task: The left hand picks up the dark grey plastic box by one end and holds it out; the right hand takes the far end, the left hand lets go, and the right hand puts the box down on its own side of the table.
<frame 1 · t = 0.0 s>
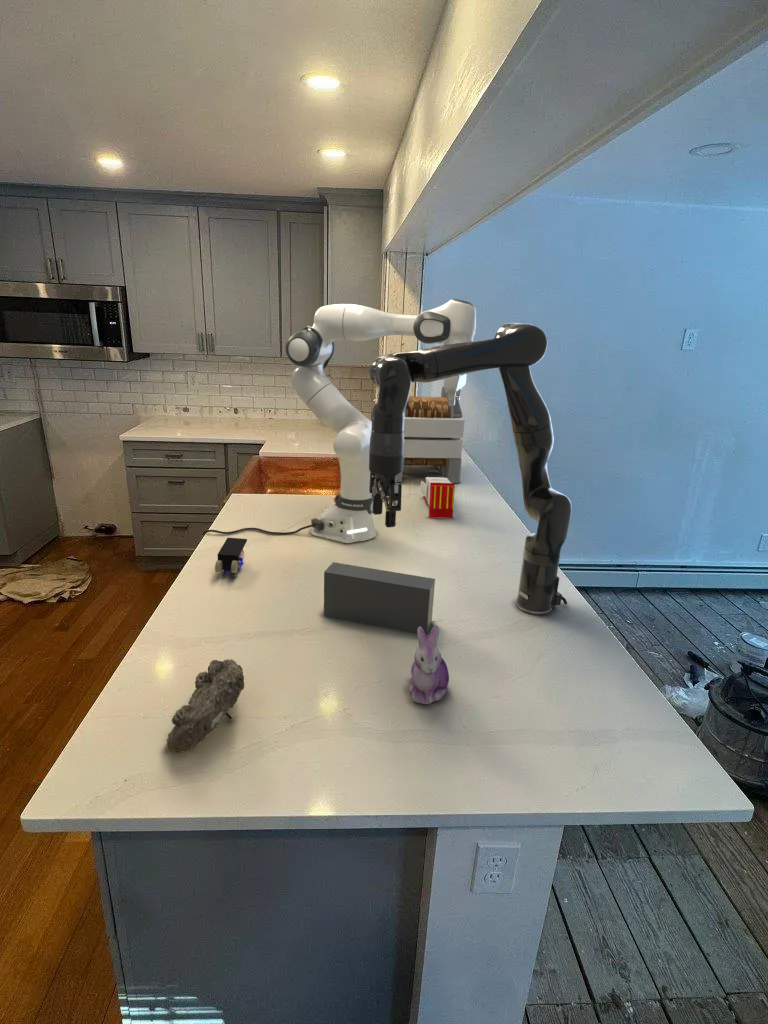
left hand: (454, 403, 174), 48 cm above the counter, tool pointing down, fingers open, 8 cm apart
right hand: (383, 520, 129), 29 cm above the counter, tool pointing down, fingers open, 8 cm apart
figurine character: (232, 569, 168), on the counter
transformer: (419, 473, 275), on the counter
toy: (436, 506, 229), on the counter
box: (377, 618, 145), on the counter
figurine: (428, 692, 118), on the counter
fossil: (212, 717, 108), on the counter
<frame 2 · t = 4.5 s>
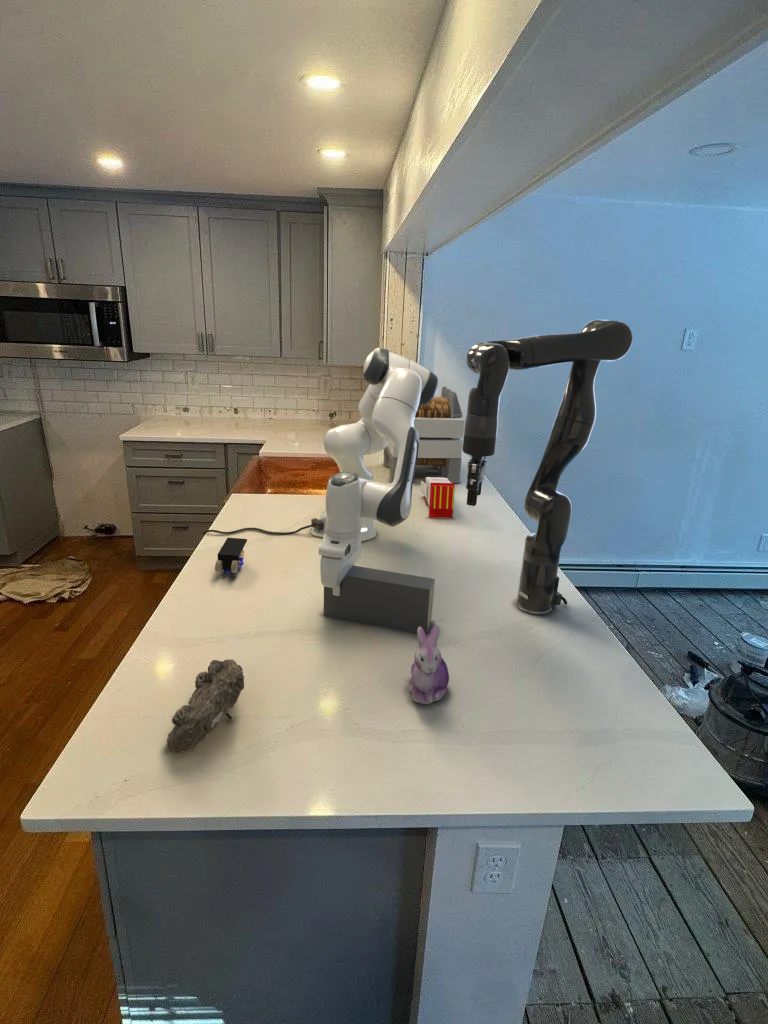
left hand: (342, 587, 145), 7 cm above the counter, tool pointing down, fingers closed on box, 6 cm apart
right hand: (473, 499, 136), 32 cm above the counter, tool pointing down, fingers open, 8 cm apart
box: (377, 618, 145), on the counter, touching left hand
everything else where it was.
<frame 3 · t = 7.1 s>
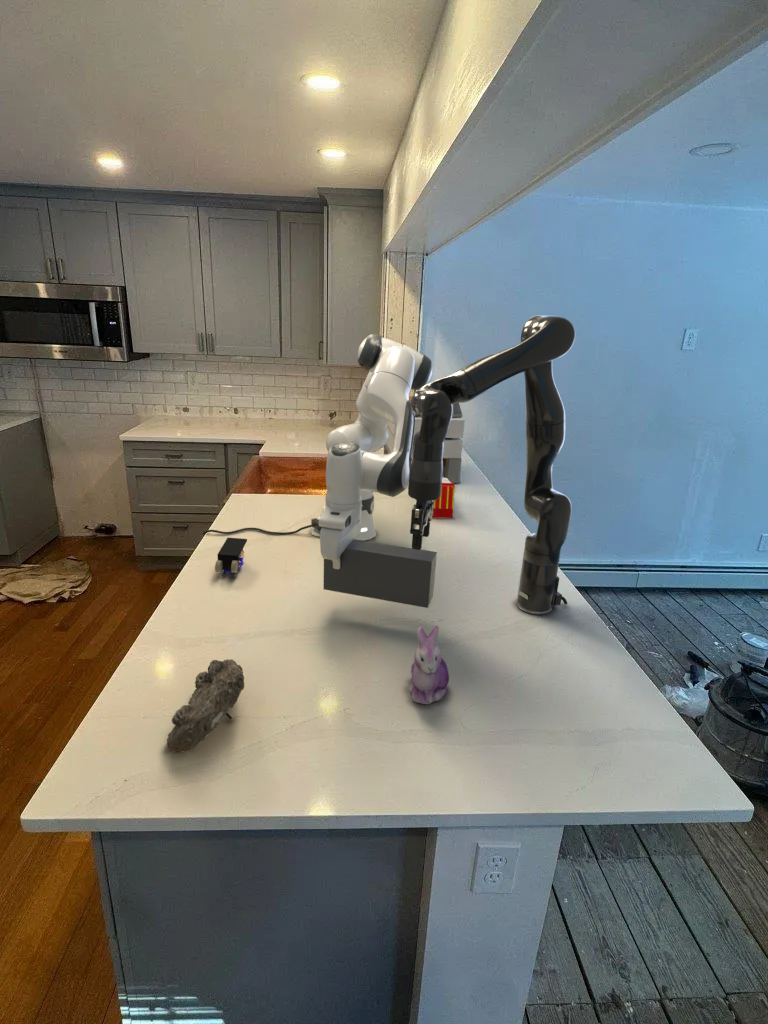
left hand: (342, 561, 143), 14 cm above the counter, tool pointing down, fingers closed on box, 6 cm apart
right hand: (420, 542, 135), 23 cm above the counter, tool pointing down, fingers open, 8 cm apart
box: (378, 593, 143), point 7 cm above the counter, touching left hand
everything else where it was.
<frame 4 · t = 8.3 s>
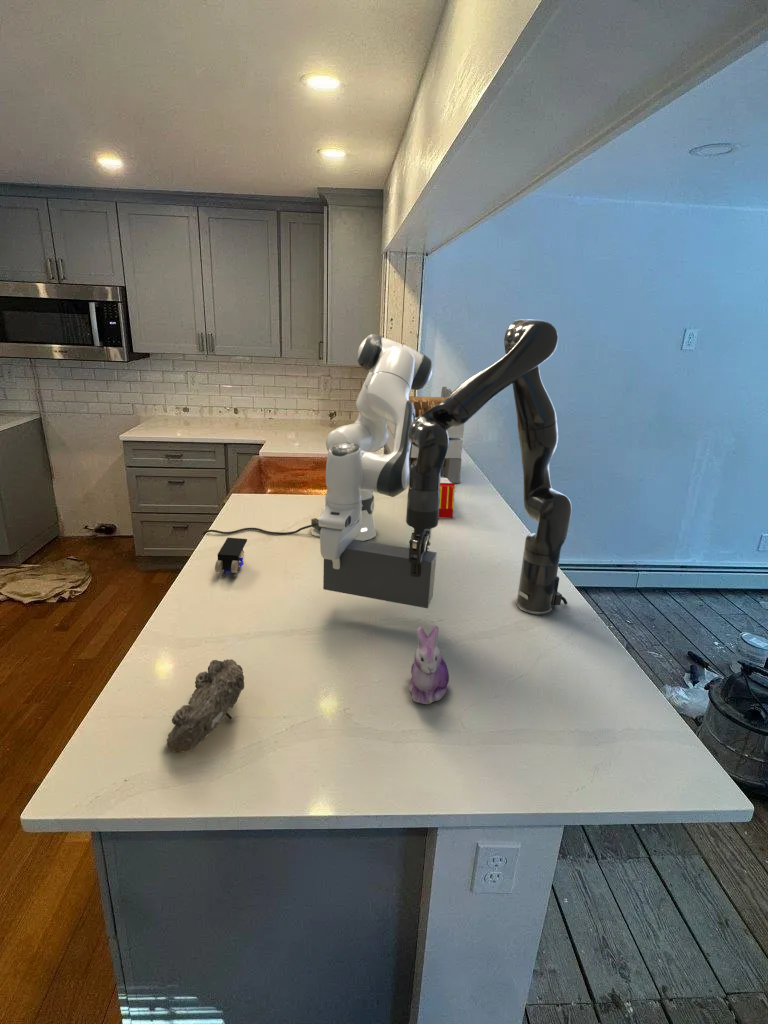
left hand: (342, 561, 143), 14 cm above the counter, tool pointing down, fingers closed on box, 6 cm apart
right hand: (418, 570, 137), 15 cm above the counter, tool pointing down, fingers closed on box, 6 cm apart
box: (377, 593, 143), point 7 cm above the counter, touching left hand, right hand
everything else where it was.
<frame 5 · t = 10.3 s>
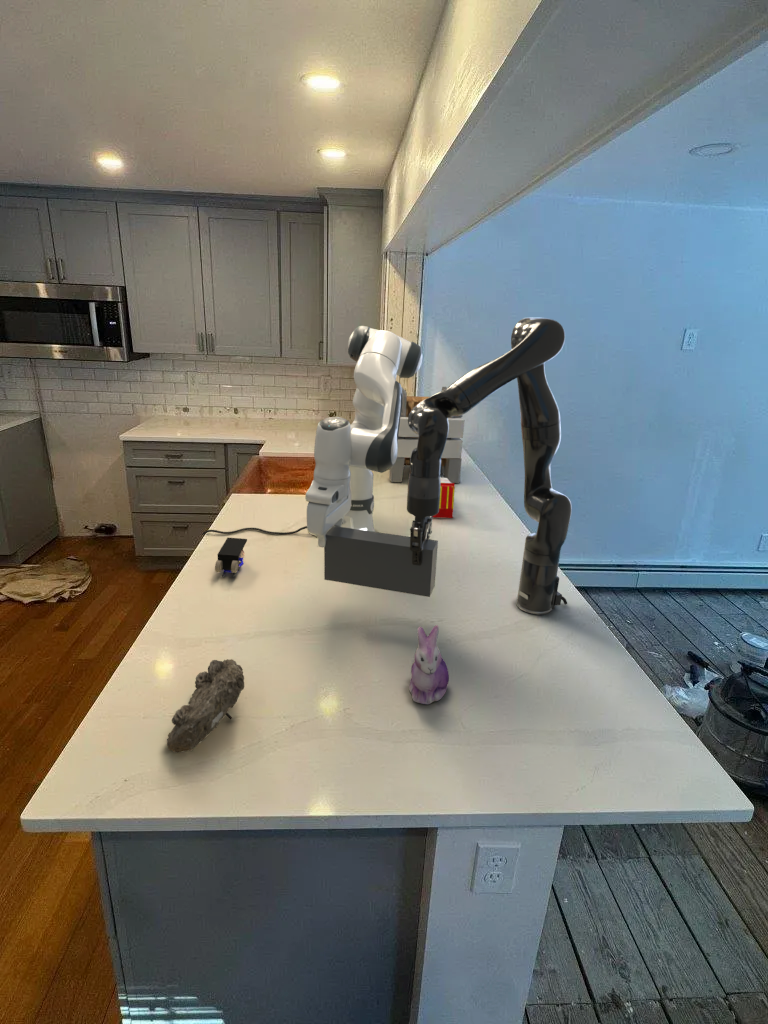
left hand: (330, 538, 141), 20 cm above the counter, tool pointing down, fingers open, 8 cm apart
right hand: (420, 558, 136), 18 cm above the counter, tool pointing down, fingers closed on box, 6 cm apart
box: (379, 582, 142), point 10 cm above the counter, touching right hand
everything else where it was.
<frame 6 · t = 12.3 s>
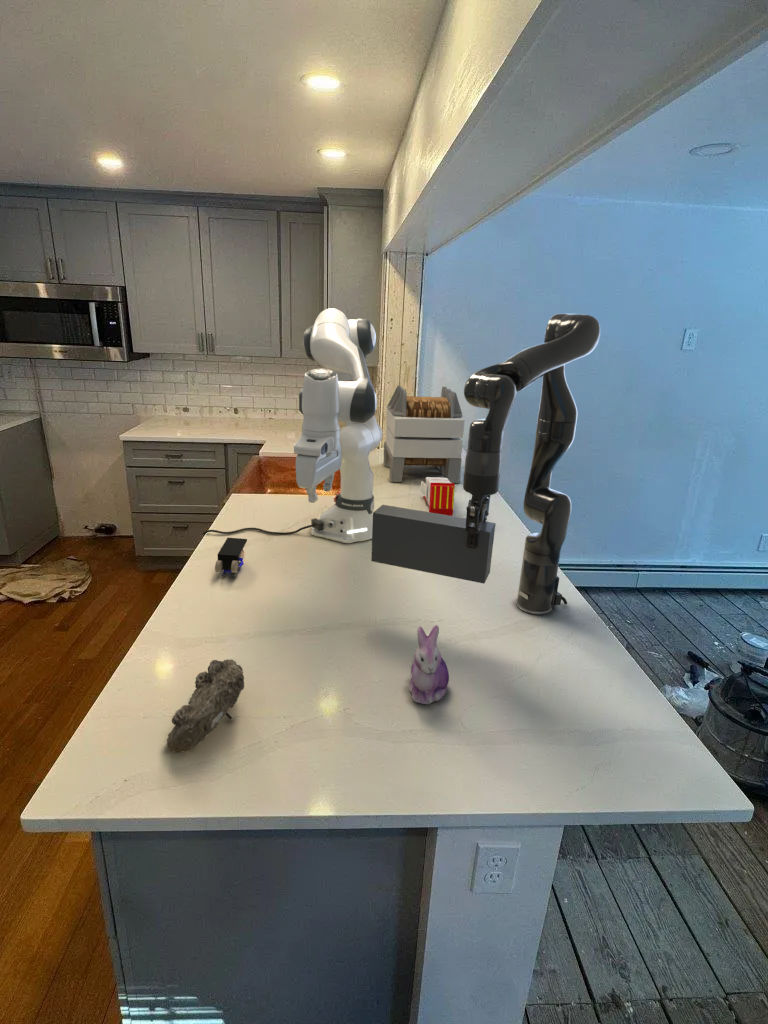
left hand: (320, 496, 138), 31 cm above the counter, tool pointing down, fingers open, 8 cm apart
right hand: (475, 541, 126), 27 cm above the counter, tool pointing down, fingers closed on box, 6 cm apart
box: (429, 566, 132), point 18 cm above the counter, touching right hand
everything else where it was.
when the right hand's fingers open (9 cm above the counter, at t = 16.2 s): box stays where it is, on the counter.
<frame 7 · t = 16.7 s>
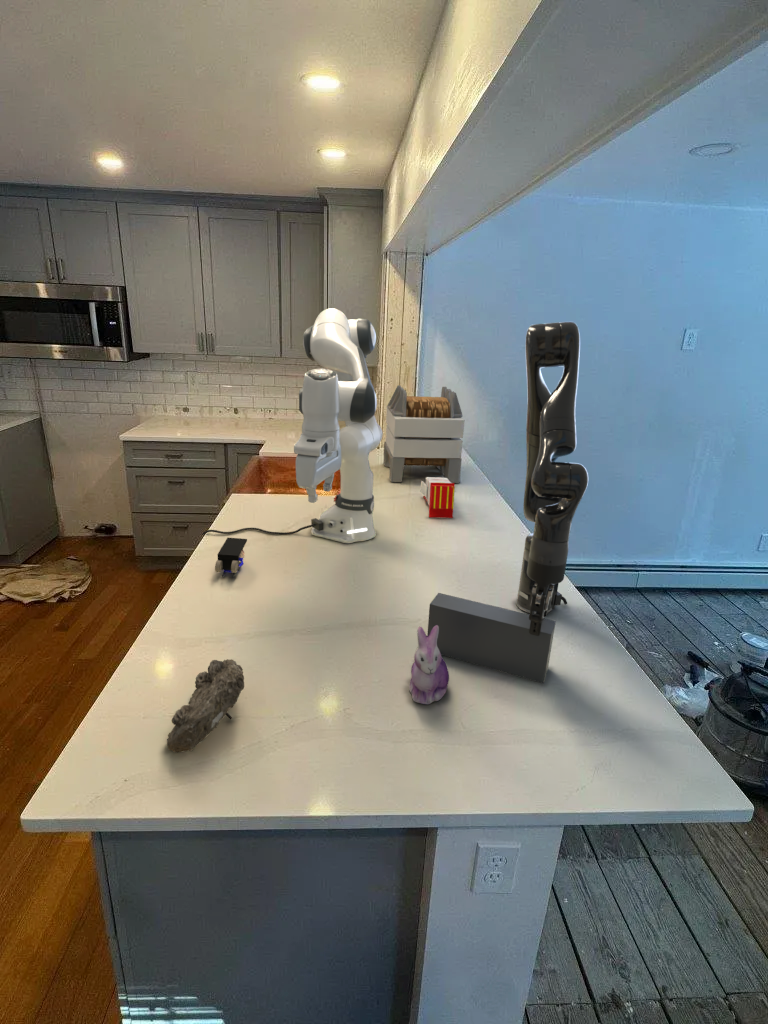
left hand: (320, 496, 138), 31 cm above the counter, tool pointing down, fingers open, 8 cm apart
right hand: (537, 624, 122), 12 cm above the counter, tool pointing down, fingers open, 8 cm apart
box: (485, 659, 130), on the counter
everything else where it was.
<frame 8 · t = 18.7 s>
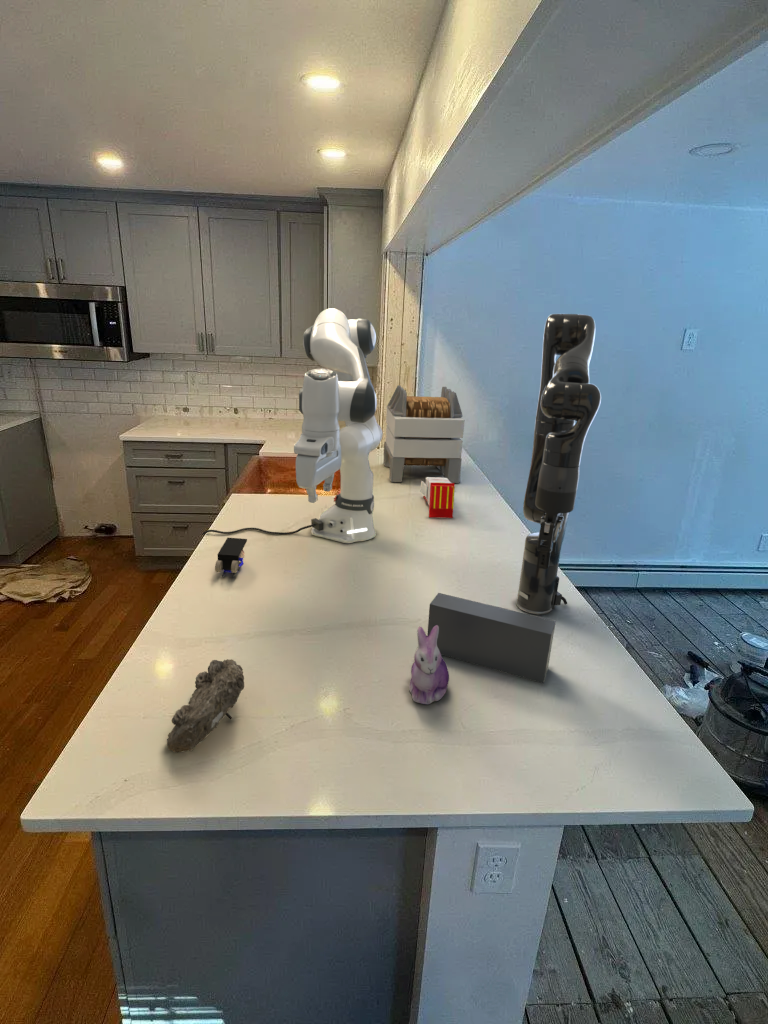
left hand: (320, 496, 138), 31 cm above the counter, tool pointing down, fingers open, 8 cm apart
right hand: (545, 560, 117), 27 cm above the counter, tool pointing down, fingers open, 8 cm apart
nothing on the counter moved.
at the end: box inside the target area (9.8 cm from its centre), on the counter; the left hand is holding nothing; the right hand is holding nothing; box at rest at the end (0.0 cm/s) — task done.
